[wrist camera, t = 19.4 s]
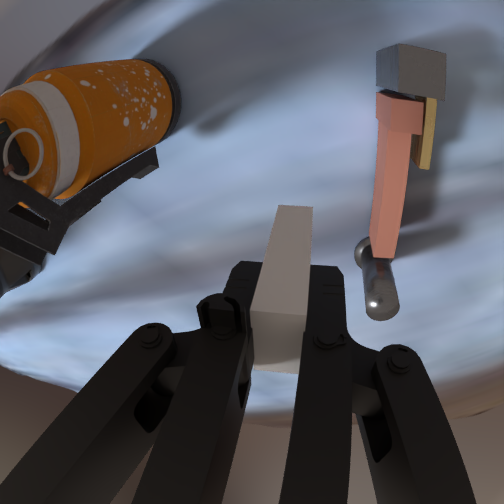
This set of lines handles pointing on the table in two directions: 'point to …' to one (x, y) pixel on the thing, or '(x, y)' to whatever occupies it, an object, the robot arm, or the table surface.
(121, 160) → the canister
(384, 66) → the grey hammer
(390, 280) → the post
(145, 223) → the table surface
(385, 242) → the pink l-shaped bracket
